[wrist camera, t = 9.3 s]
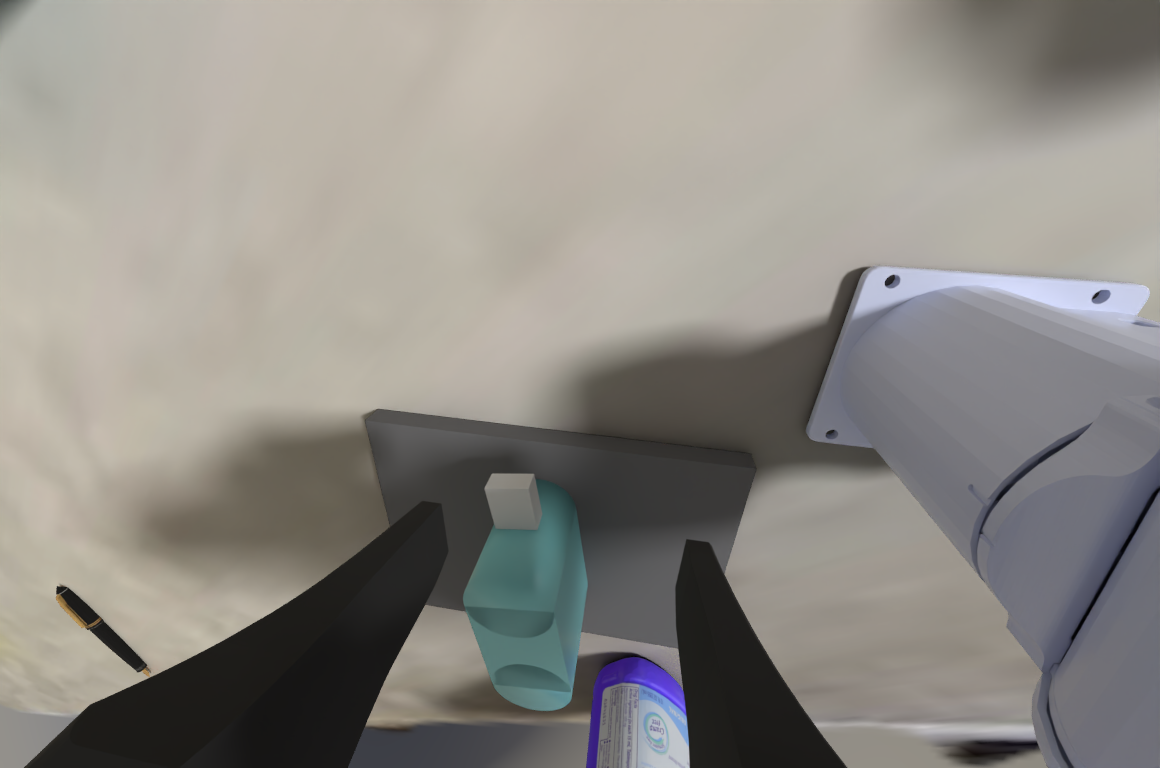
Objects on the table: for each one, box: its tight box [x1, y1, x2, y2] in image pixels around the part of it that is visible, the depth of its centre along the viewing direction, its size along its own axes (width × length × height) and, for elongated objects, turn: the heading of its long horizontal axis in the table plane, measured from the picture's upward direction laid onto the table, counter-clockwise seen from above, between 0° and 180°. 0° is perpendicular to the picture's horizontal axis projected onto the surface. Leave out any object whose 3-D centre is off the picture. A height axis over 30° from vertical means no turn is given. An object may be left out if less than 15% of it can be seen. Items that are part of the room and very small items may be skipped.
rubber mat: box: [365, 409, 756, 648], centre depth 25 cm, size 20×15×1 cm
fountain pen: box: [56, 586, 150, 677], centre depth 40 cm, size 14×1×2 cm, turn 8°
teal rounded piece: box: [463, 474, 588, 711], centre depth 21 cm, size 4×12×6 cm, turn 6°
